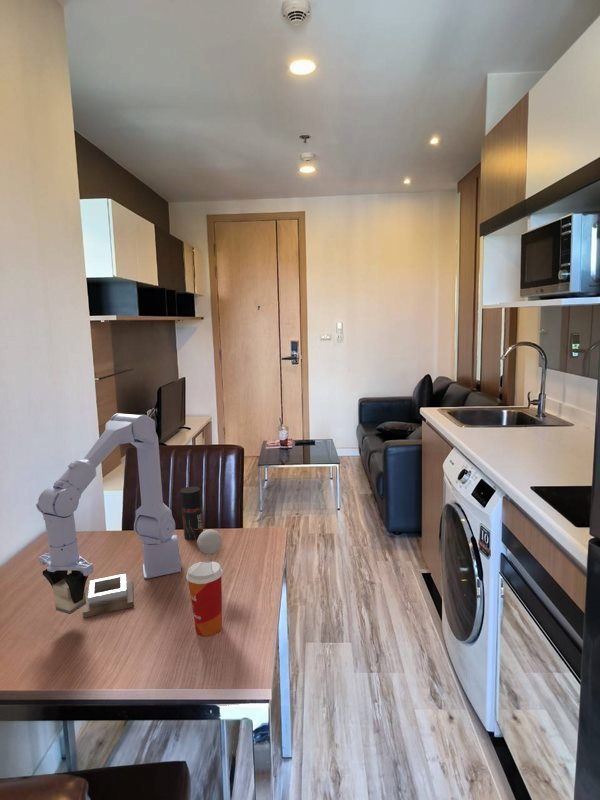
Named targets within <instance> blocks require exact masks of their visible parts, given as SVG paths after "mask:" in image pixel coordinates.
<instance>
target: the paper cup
mask: <svg viewBox="0 0 600 800" xmlns="http://www.w3.org/2000/svg"><path fill="white" fill-rule="evenodd" d="M223 574H224V571H223V569H222V567H221V564H219V563H218V562H216V561H213V560H212V562H210V561H204V562H203V561H200V562H196V563H194V564H192V565H191V566H189V568H188V569H187V573H186V575H185V578H186V580H187V581H188V587H189V595H190V596H189V597H190V603H191V610H192V614H193V615H192V616H193V621H194V623H193V624H194V626H195V627H194V628H195V632H196V635H199V636H201V637H212V636H215V635H217V634H219V633H220V632H221V630H222V626H223V601H222V600H223V599H222V598H223V596H222V595H223V594H222V593H223V590H222V589H223V588H222V582H223V581H222V576H223Z"/></svg>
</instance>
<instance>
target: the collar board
mask: <svg viewBox="0 0 600 800" xmlns="http://www.w3.org/2000/svg"><path fill="white" fill-rule="evenodd" d="M133 590H134V589H133V578H132V577H131V578H127V574H126V573H123V574H116V575H112V576H107V577H102V578H96V579H91V580H89V586H85V597H86V604H85V605H84V606H82V608H83V609H82V616H83V618H86V616H88V617H92V616H95V615H96V616H97V615H102V614H105V613H109V612H113V611H119V610H120V611H121V610H124V609H129V608H133V607H134V605H135V603H134V591H133Z"/></svg>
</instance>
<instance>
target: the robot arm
mask: <svg viewBox="0 0 600 800" xmlns="http://www.w3.org/2000/svg"><path fill="white" fill-rule="evenodd" d="M104 429H105V430H104V431H103V433H102V434H101V435H100V436H99V438H98V439H97V440H96V442H95V443H94V444H93V446H92V447H91V448H90V450H89V451H88V452H87V454H85V456H84V457H83V459H78V460H75V461H73V462H70V464H68V465H67V466H68V468H67V469H66V470H65V472H64V473H63V474H62V475H61V476H60V477H59V479H58V480H56V481H55V482H54V483H53V486H50V487H48V488H46V489H44V490H43V491H42V492H41V493H40V494H39V496H38V501H37V503H36V504H35V506H36V508H37V510H38V512H40V513H41V514H42V518H43V521H44V524H45V531H46V537H47V538H46V540H47V546H48V552H47V553H46V552H45V553H44V554H42V555H40V556H38V562H39V565H40V566H45V565H46V566H47V567H46V569H44V570H42V576H43V577H45V578H46V580H47V581H48V583H49V584H50V586H51V587H52V588H51V589H53V585H54V584H55V583H57V582H59V581H61V580H62V579H64V580H65V581H66V583H67V585H68V587H69V589H70V593H71V598H72V601H73V603H75V604H76V603H78V602H79V601H81V600H83V595H84V589H86V583H87V580H88V579H89V576H90V575H92V574H93V573H95V571H94V564H93V563H92V562H89V561H87V560H86V559H85V558H83V557H82V556H81V555H80V552H79V545H78V539H77V538H78V537H77V529H76V519H75V512H76V511H77V509H78V506H79V503H80V502H79V501H80V499H81V496H82V494H83V493H84V491H85V490H86V488H88V487H89V485H90V484H91V483H92V482H93V480H94V479H95V478H96V477H97V468H98V467H99V465H100V464H102V462H103V461H104V460H105V459H106V458H107V457H108V456H109V455H110V454H111V453H112V452H113V451H114V450H115V449H116V448H117V446H118V445H123V444H125V445H126V444H131V445H132V446H134V447H135V448H136V453H137V454H136V456H137V467H138V468H137V469H138V478H139V479H138V480H139V491H140V504H141V505H140V506H139V507H138V508H137V509H136V510H135V519H134V523H133V531H134V532H135V533H136V534H135V535H138V536H139V540H141V542H142V543H141V546H142V556H143V564H142V572H143V579H146V580H147V579H151V578H157V577H160V576H161V577H162V576H166V575H170V574H171V575H172V574H175V573H181V571H182V568H181V560H182V559H181V554H180V545H179V539H178V535H177V534H174V533H175V531H176V522H175V519H174V517H173V511H172V510H171V508H169V507H168V505H166V504H165V503H164V498H163V486H162V473H161V472H162V471H161V460H160V459H161V456H160V449H159V447H160V445H159V444H160V443H159V437H158V434H157V432H156V431H157V430H156V420H155V419H153V418H152V417H150V416H149V415H146V414H132V413H131V414H129V413H123V412H117V413H115V414H113V415H112V416H111V417H110V419H109V420H108V421H107V422H106V423H105V427H104ZM68 571H70V573H69V572H68Z"/></svg>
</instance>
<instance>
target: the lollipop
mask: <svg viewBox="0 0 600 800" xmlns="http://www.w3.org/2000/svg"><path fill="white" fill-rule="evenodd" d="M196 540H197V541H196V545H197V547H198V549H199V550H200V551H201V552H202V553H203V554H205V555H209V562H212V561H213V556H212V555H213V554H215V553H216V552H218V551H219V550H220V548H221V546H222V543H223V542H222V541H223V538H222V536H221V534H220V533H219V532H218V531H217V530H216V529H206V530H203V532H202V533H201V534H200V535H199V537H198V539H196Z"/></svg>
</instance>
